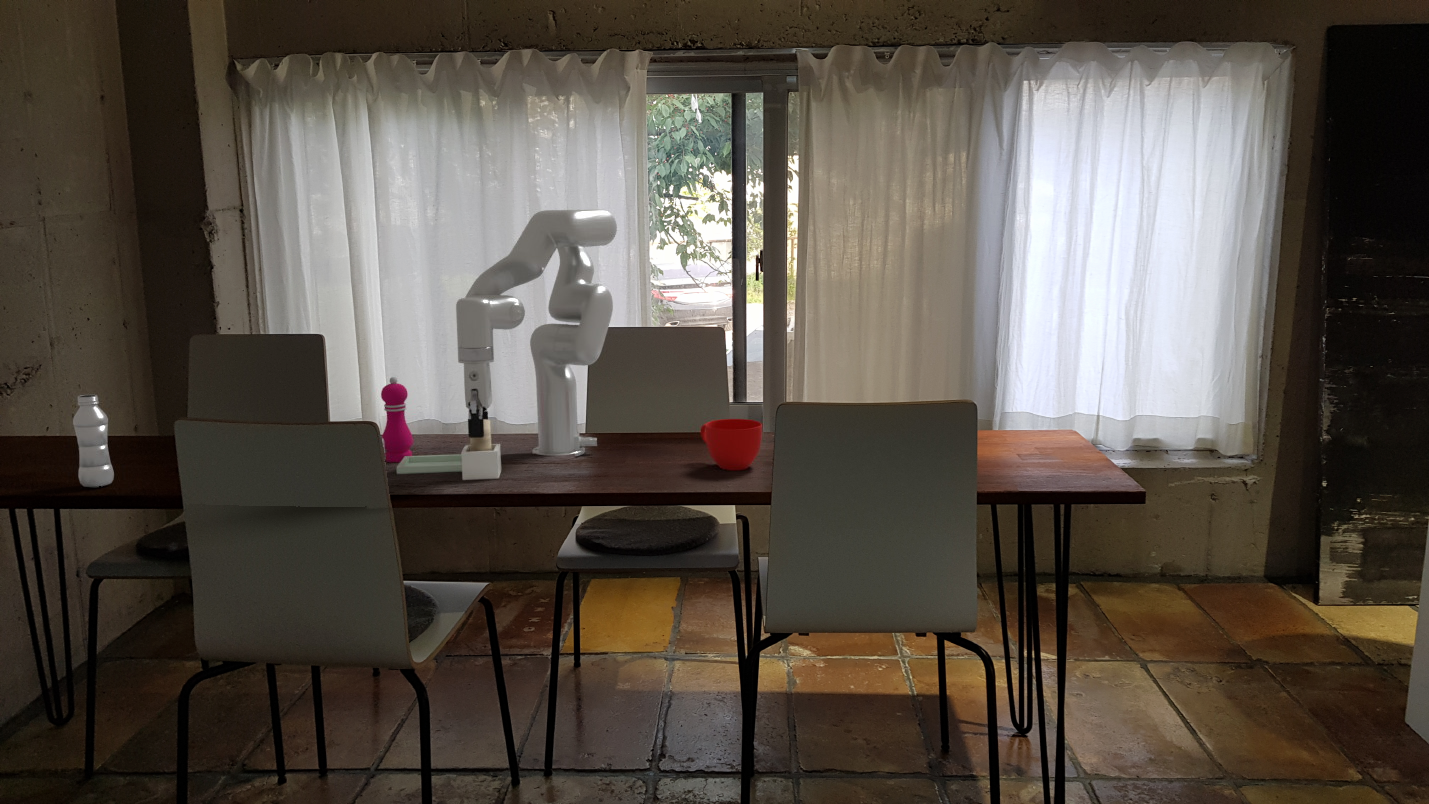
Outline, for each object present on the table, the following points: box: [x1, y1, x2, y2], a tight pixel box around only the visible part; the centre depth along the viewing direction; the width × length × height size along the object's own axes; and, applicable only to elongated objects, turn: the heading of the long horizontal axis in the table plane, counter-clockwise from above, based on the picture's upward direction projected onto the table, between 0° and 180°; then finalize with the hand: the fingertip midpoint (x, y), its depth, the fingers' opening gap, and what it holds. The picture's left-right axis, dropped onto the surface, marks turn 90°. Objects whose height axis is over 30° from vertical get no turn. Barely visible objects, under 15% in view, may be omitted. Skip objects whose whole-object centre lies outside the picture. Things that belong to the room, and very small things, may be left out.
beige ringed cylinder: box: [469, 419, 492, 451], centre depth 229 cm, size 4×4×12 cm
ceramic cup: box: [700, 418, 763, 471], centre depth 240 cm, size 13×17×10 cm
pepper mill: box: [380, 376, 414, 463], centre depth 249 cm, size 7×7×20 cm
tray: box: [396, 453, 462, 475], centre depth 238 cm, size 16×11×2 cm
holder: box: [460, 443, 502, 481], centre depth 230 cm, size 8×8×7 cm
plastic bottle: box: [72, 394, 115, 488], centre depth 226 cm, size 6×7×20 cm
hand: (478, 433), depth 228 cm, fingers open, 9 cm apart
